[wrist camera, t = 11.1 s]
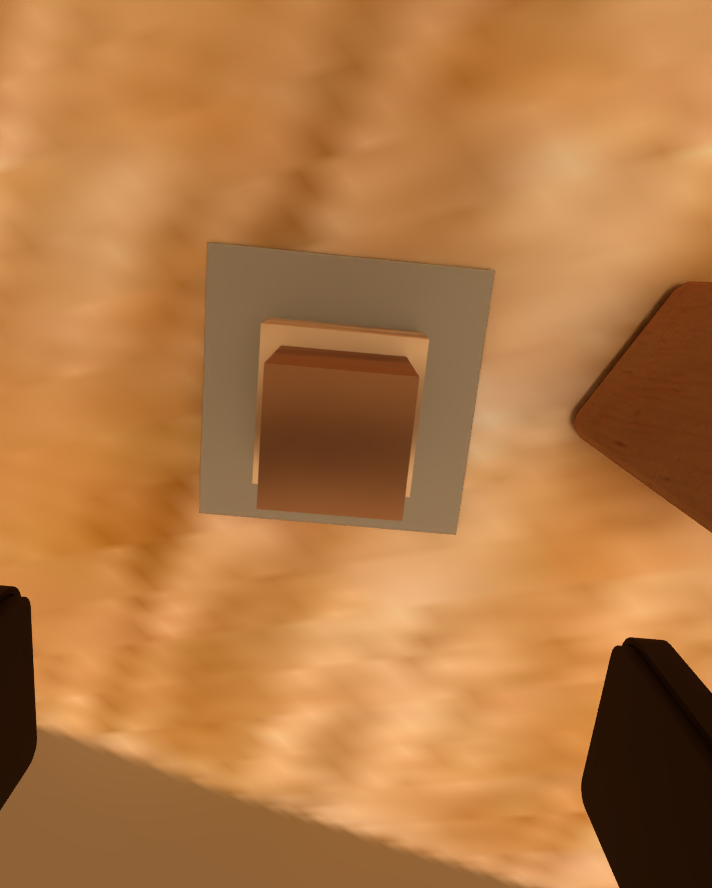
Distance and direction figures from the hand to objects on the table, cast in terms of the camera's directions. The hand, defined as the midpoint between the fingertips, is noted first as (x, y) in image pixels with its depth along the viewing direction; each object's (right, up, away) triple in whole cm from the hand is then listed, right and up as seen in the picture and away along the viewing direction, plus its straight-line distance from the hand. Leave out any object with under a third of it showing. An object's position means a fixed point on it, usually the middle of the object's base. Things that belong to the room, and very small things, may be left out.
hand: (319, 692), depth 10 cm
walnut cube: (0, +6, +21) cm, 22 cm away
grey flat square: (0, +7, +25) cm, 26 cm away
